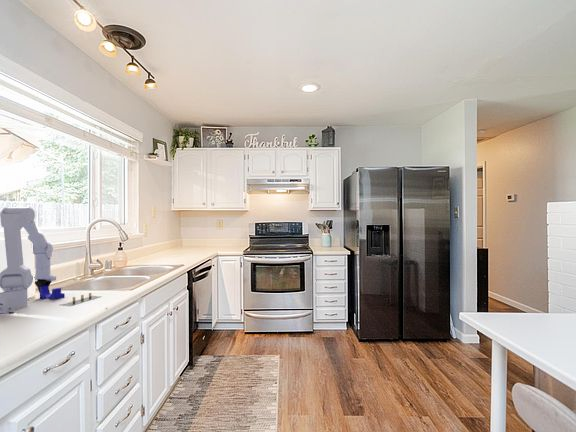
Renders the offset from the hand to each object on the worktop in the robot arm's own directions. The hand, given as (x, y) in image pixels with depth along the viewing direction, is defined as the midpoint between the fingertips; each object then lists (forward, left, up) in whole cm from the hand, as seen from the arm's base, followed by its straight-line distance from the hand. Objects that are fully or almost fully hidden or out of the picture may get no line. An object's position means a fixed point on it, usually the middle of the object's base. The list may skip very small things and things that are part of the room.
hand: (43, 294), depth 151 cm
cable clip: (-2, -8, -2) cm, 8 cm away
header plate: (-3, -28, -1) cm, 28 cm away
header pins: (-3, -28, 0) cm, 29 cm away
